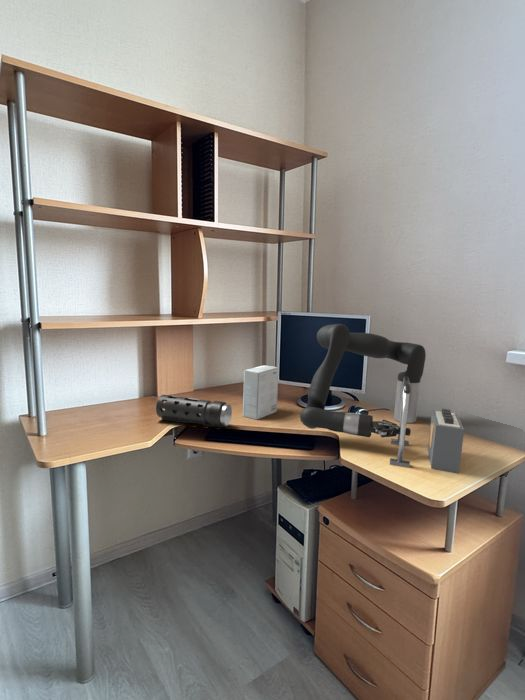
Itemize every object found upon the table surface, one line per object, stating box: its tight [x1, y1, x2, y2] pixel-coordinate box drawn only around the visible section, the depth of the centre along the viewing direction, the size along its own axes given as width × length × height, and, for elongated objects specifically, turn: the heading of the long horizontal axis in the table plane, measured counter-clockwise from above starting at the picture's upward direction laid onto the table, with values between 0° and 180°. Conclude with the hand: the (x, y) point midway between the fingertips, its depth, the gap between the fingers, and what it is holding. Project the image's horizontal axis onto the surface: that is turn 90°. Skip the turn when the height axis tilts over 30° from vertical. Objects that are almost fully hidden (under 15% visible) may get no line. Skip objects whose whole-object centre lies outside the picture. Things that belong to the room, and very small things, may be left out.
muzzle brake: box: [155, 394, 233, 428], centre depth 164 cm, size 10×28×10 cm, turn 73°
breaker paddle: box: [429, 422, 434, 448], centre depth 141 cm, size 6×5×7 cm
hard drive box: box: [242, 364, 279, 421], centre depth 180 cm, size 16×8×20 cm, turn 146°
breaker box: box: [427, 408, 465, 474], centre depth 140 cm, size 18×8×16 cm, turn 162°
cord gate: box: [389, 376, 411, 468], centre depth 143 cm, size 22×6×25 cm, turn 162°
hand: (410, 432), depth 143 cm, fingers closed
